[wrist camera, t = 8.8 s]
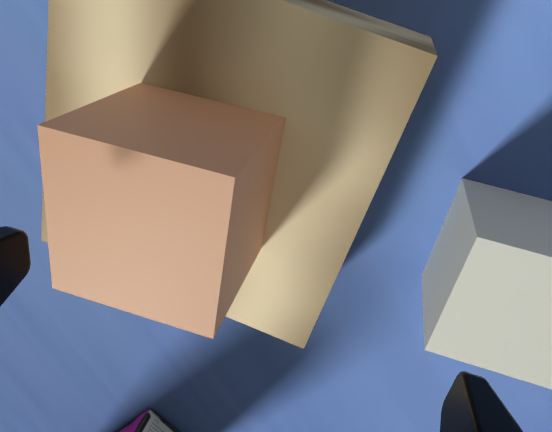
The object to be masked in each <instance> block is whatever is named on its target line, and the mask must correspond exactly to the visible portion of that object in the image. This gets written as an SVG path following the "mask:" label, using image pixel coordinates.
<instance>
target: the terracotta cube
mask: <svg viewBox="0 0 552 432" xmlns="http://www.w3.org/2000/svg"><path fill="white" fill-rule="evenodd" d="M284 124H285V118H284V117H280V116H276V115H271V114H267V113H263V112H259V111H255V110H251V109H247V108H243V107H239V106H235V105H230V104H226V103H222V102H218V101H214V100H210V99H206V98H202V97H198V96H193V95H189V94H185V93H181V92H177V91H173V90H169V89H165V88H161V87H157V86H152V85H148V84H144V83H139V84H136V85H134V86H131V87H129V88H127V89H124V90H122V91H119V92H117V93H114V94H112V95H109V96H107V97H105V98H102V99H100V100H97V101H95V102H92V103H90V104H87V105H85V106H83V107H80V108H78V109H75V110H73V111H70V112H68V113H65V114H63V115H61V116H58V117H56V118H53V119H51V120H48V121H46V122H43V123H41V124H39V125H37V126H38V137H39V148H40V159H41V170H42V180H43V191H44V202H45V213H46V224H47V235H48V245H49V256H50V267H51V278H52V288H54V289H57V290H60V291H63V292H67V293H70V294H73V295H76V296H79V297H82V298H85V299H89V300H92V301H95V302H98V303H101V304H104V305H108V306H111V307H114V308H117V309H120V310H123V311H126V312H130V313H133V314H136V315H139V316H142V317H145V318H148V319H152V320H155V321H158V322H161V323H164V324H167V325H171V326H174V327H177V328H180V329H183V330H186V331H189V332H193V333H196V334H199V335H202V336H205V337H208V338H212V339H213V338H214V337H215V335H216V333H217V331H218V329H219V327H220V325H221V323H222V322H223V320H224V318H225V316H226V314H227V312H228V310H229V308H230V306H231V305H232V303H233V301H234V299H235V297H236V295H237V293H238V291H239V290H240V288H241V286H242V284H243V282H244V280H245V278H246V276H247V275H248V273H249V271H250V269H251V267H252V265H253V263H254V261H255V260H256V258H257V256H258V254H259V252H260V250H261V248H262V244H263V238H264V233H265V228H266V222H267V217H268V211H269V206H270V200H271V195H272V189H273V184H274V178H275V173H276V167H277V162H278V156H279V151H280V146H281V140H282V135H283V129H284Z"/></svg>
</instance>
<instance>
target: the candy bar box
mask: <svg viewBox="0 0 552 432" xmlns="http://www.w3.org/2000/svg"><path fill="white" fill-rule="evenodd" d="M118 432H178V431H176V430H175V429H174V428H173V427H171V426H170V425H169V424H167V423H166V422H165V421H164V420H163V419H162V418H161V417H159V416H158V415H157V414H156V413H154V412H153V411H152V410H150V409H149V410H147V411H145V412H144V413H143V414H141V415H140V416H139V417H137V418H136V419H134V420H133V421H132V422H130V423H129V424H127V425H126V426H125V427H123V428H122V429H120V430H119V431H118Z"/></svg>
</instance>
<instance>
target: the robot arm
mask: <svg viewBox="0 0 552 432" xmlns="http://www.w3.org/2000/svg"><path fill="white" fill-rule="evenodd" d="M30 264H31V262H30V252H29V243H28V236H27V235H26V233H25V232H24V231H21V230H18V229H15V228H12V227H8V226H5V227H0V306H1V305H2V304H3V303H4V301H5V300H6V299H7V298H8V297H9V295H10V294H11V293H12V292H13V291H14V289H15V288H16V287H17V286H18V285H19V283H20V282H21V281H22V280H23V279H24V277H25V276H26V275H27V273H28V271H29V269H30ZM440 432H523V431H522V429H521V428H520V427H519V425H518V424H517V422H516V421H515V420H514V418H513V417H512V415H511V414H510V413H509V411H508V410H507V408H506V407H505V406H504V404H503V403H502V401H501V400H500V399H499V397H498V396H497V394H496V393H495V391H494V390H493V389H492V387H491V386H490V384H489V383H488V382H487V380H486V379H484V378H483V377H481V376H478V375H475V374H472V373H468V372H465V371H463V372H460V373H459V374H458V375H457V377H456V379H455V381H454V383H453V385H452V387H451V388H450V390H449V392H448V394H447V396H446V398H445V400H444V403H443V406H442V412H441V424H440Z"/></svg>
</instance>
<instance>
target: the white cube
mask: <svg viewBox="0 0 552 432" xmlns="http://www.w3.org/2000/svg"><path fill="white" fill-rule="evenodd" d="M422 298H423V322H424V346H425V350H426V351H430V352H433V353H436V354H439V355H442V356H446V357H449V358H452V359H455V360H459V361H462V362H465V363H468V364H472V365H475V366H478V367H481V368H484V369H488V370H491V371H494V372H497V373H501V374H504V375H507V376H510V377H513V378H517V379H520V380H523V381H526V382H530V383H533V384H536V385H539V386H543V387H546V388H549V389H552V201H549V200H545V199H541V198H538V197H534V196H530V195H526V194H522V193H518V192H514V191H510V190H507V189H503V188H499V187H495V186H491V185H487V184H483V183H479V182H475V181H472V180H468V179H464V178H462V179H461V181H460V184H459V186H458V189H457V191H456V194H455V196H454V198H453V201H452V203H451V206H450V208H449V210H448V213H447V215H446V218H445V220H444V223H443V225H442V227H441V230H440V232H439V235H438V237H437V240H436V242H435V244H434V247H433V249H432V252H431V254H430V256H429V259H428V261H427V264H426V266H425V269H424V271H423V273H422Z"/></svg>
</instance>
